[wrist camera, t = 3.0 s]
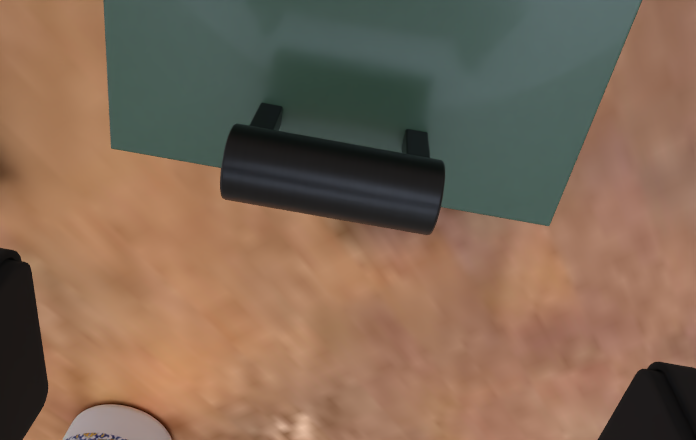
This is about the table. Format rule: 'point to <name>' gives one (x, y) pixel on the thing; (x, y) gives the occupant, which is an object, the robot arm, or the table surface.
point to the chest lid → (367, 99)
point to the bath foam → (115, 425)
